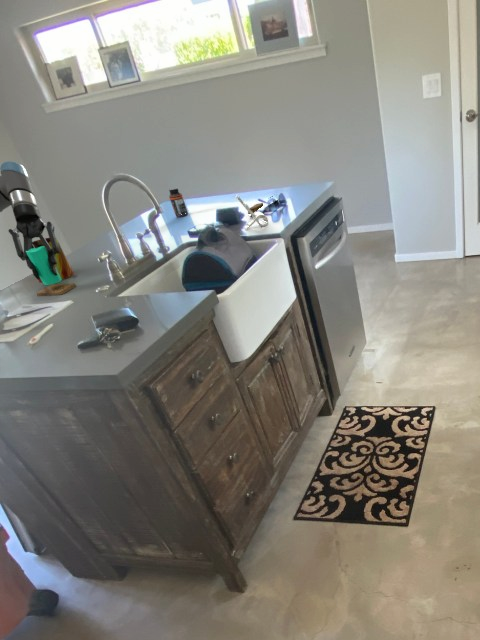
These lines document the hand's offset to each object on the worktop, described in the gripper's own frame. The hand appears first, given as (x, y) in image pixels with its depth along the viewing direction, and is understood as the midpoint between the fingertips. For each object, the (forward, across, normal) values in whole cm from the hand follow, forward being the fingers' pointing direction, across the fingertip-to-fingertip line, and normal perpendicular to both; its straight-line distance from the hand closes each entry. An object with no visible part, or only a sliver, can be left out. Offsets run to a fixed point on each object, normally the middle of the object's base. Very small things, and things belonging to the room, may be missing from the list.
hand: (45, 275), depth 171 cm
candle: (0, 0, -5) cm, 5 cm away
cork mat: (+2, 0, -7) cm, 7 cm away
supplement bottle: (-60, -46, -69) cm, 103 cm away
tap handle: (-43, -83, -52) cm, 107 cm away
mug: (-10, +2, -19) cm, 22 cm away
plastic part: (-22, -75, -32) cm, 84 cm away
